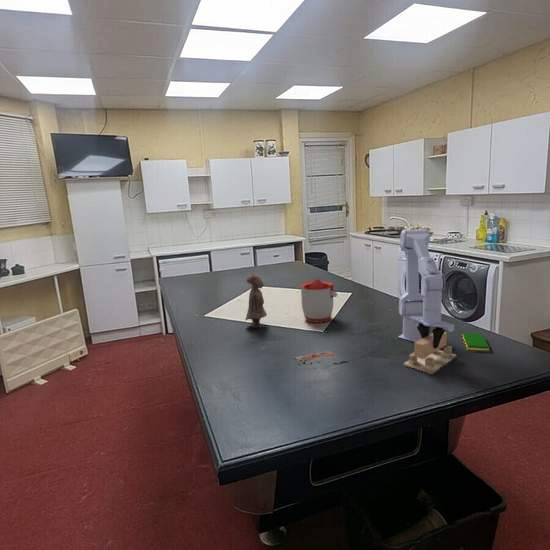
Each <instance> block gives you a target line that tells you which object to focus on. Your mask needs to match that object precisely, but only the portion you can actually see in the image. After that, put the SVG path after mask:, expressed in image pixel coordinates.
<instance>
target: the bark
mask: <svg viewBox="0 0 550 550" xmlns="http://www.w3.org/2000/svg"><path fill="white" fill-rule="evenodd" d="M321 354H322V355H323V356H327V357H326V358H328V356H329V355H330V356H335V355H336V353H334V352H332V351H321V352H316V353H315V352H314V353H310V354H309V353H308V354H305V355H299V356H296V357H294V358H297V359H300V360H301V359H302V360H304V362H305V361H307V359H308V360H309V361H310V363H311V362H315V361H314V360H320V359H321V358H320V359H317V357H318V358H319V356H320V355H321ZM332 354H334V355H332ZM320 357H321V356H320ZM335 357H336V356H335ZM304 358H306V359H304ZM310 358H311V360H310ZM309 361H308V362H309ZM304 362H303V363H304ZM308 362H307V363H308ZM346 362H347V361H346ZM346 362H345V363H346ZM336 363H337V362H336ZM338 364H339V362H338V363H337V364H336V365H338Z"/></svg>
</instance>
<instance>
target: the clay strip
mask: <svg viewBox="0 0 550 550" xmlns="http://www.w3.org/2000/svg"><path fill="white" fill-rule="evenodd" d="M447 335H448V331H445V332H444V334H443V335H442V337H441V340H440V342H439V346H438V348H436V349H435V348H434V347H433V344H434V337H433V332H432V333H431V334H430V333H429V335H428V336H426V337H424V338H423V339H421V340H419V341H417V342H414V350H413V352H414V357H417V358H420V359H423V358H425V357H427V356H429V355H430V354H432V353H434V352H435V351H437V350H441V349H442V348H445V347H446V346H447V339H448V338H447Z"/></svg>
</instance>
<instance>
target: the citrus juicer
mask: <svg viewBox="0 0 550 550" xmlns="http://www.w3.org/2000/svg"><path fill="white" fill-rule="evenodd" d="M299 286H300V294H301V295H300V296H301V308H302V312H303V316H304V318H305V320H306V321H307V322H309V321H310V323H325V322H327V321H329V320H331V318H332V313H333V310H334V298H337V297H338V293H337V292H336V291H334V283H332V282H330V281H322V280H319V278H316V279H314V280H313V281H309V282H304V283H301V284H300V285H299Z"/></svg>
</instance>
